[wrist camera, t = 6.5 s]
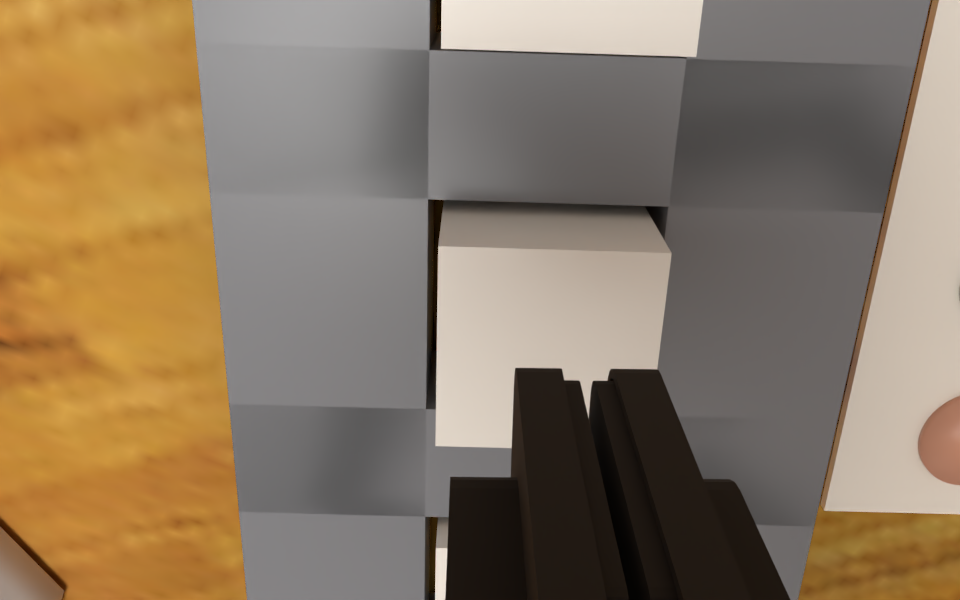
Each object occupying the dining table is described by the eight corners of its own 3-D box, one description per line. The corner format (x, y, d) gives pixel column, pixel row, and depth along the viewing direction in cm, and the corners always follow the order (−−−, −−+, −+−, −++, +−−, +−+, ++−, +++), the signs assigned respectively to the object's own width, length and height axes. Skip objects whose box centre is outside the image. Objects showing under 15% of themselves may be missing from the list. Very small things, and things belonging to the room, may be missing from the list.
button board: (933, -356, 17) (1020, -408, 14) (736, 663, 27) (765, 747, 25) (204, -385, 17) (151, -443, 14) (282, 653, 27) (259, 736, 24)
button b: (639, 197, 20) (672, 253, 17) (621, 370, 22) (646, 451, 18) (444, 192, 20) (438, 246, 17) (441, 365, 22) (435, 446, 18)
